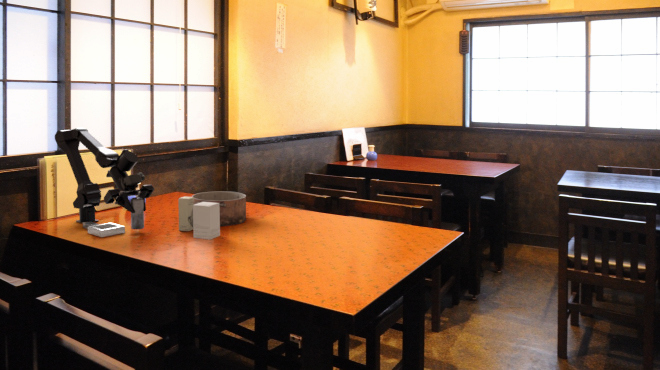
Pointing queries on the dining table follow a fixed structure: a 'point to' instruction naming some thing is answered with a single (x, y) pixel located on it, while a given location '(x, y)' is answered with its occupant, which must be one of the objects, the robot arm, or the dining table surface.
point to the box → (186, 213)
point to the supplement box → (206, 220)
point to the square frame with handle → (103, 229)
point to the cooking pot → (226, 205)
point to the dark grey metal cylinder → (137, 213)
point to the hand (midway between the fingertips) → (139, 211)
